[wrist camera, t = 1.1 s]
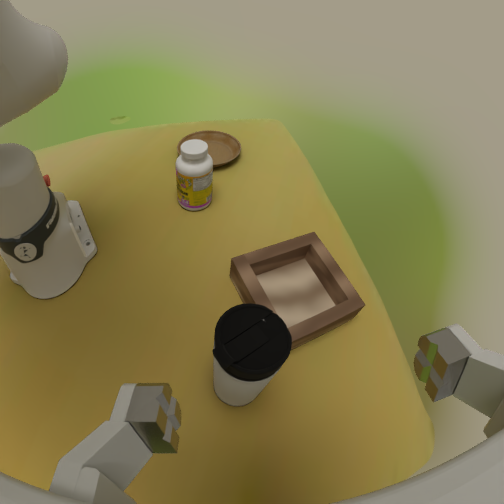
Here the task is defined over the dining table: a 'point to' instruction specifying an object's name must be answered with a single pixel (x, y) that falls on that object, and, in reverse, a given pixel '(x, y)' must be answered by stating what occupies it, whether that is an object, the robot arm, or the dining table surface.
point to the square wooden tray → (297, 286)
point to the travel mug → (248, 352)
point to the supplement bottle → (194, 175)
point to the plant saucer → (216, 146)
